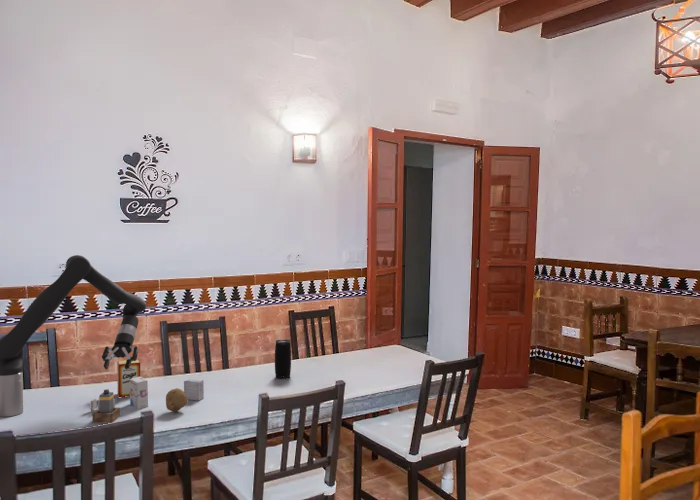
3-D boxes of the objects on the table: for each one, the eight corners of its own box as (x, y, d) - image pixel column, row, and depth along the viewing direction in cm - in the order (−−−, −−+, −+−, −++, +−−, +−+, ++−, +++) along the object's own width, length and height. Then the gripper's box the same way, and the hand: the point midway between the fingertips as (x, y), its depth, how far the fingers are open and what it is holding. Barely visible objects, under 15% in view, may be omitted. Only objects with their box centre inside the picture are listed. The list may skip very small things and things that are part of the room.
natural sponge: (190, 408, 240) (190, 385, 240) (184, 415, 231) (184, 391, 231) (169, 408, 240) (168, 385, 239) (162, 415, 231) (162, 391, 230)
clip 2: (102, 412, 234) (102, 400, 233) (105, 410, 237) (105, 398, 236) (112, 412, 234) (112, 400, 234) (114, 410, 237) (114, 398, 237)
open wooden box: (92, 422, 221) (92, 414, 221) (100, 416, 229) (100, 407, 229) (112, 422, 221) (112, 413, 221) (120, 416, 229) (120, 407, 229)
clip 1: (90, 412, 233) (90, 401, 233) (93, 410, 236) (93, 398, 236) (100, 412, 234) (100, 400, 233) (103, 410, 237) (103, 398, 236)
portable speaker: (290, 374, 297) (290, 338, 297) (291, 379, 288) (291, 342, 287) (274, 375, 296) (274, 339, 295) (275, 379, 287) (275, 342, 286)
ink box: (129, 404, 245) (129, 378, 244) (140, 401, 248) (140, 376, 248) (137, 408, 239) (137, 382, 238) (148, 406, 242) (148, 379, 242)
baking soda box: (138, 391, 264) (138, 358, 264) (140, 395, 258) (140, 361, 258) (117, 394, 260) (117, 360, 259) (118, 397, 254) (118, 363, 253)
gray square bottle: (99, 419, 223) (99, 391, 223) (103, 416, 227) (103, 388, 227) (109, 419, 223) (109, 391, 223) (113, 416, 228) (113, 388, 227)
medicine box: (204, 398, 255) (204, 379, 254) (198, 401, 250) (198, 382, 250) (189, 396, 257) (188, 378, 256) (183, 399, 252) (183, 380, 252)
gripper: (107, 332, 243) (96, 364, 232) (139, 332, 243) (130, 364, 232) (111, 341, 248) (101, 373, 237) (143, 341, 249) (135, 373, 238)
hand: (115, 368), depth 235 cm, fingers open, 8 cm apart
